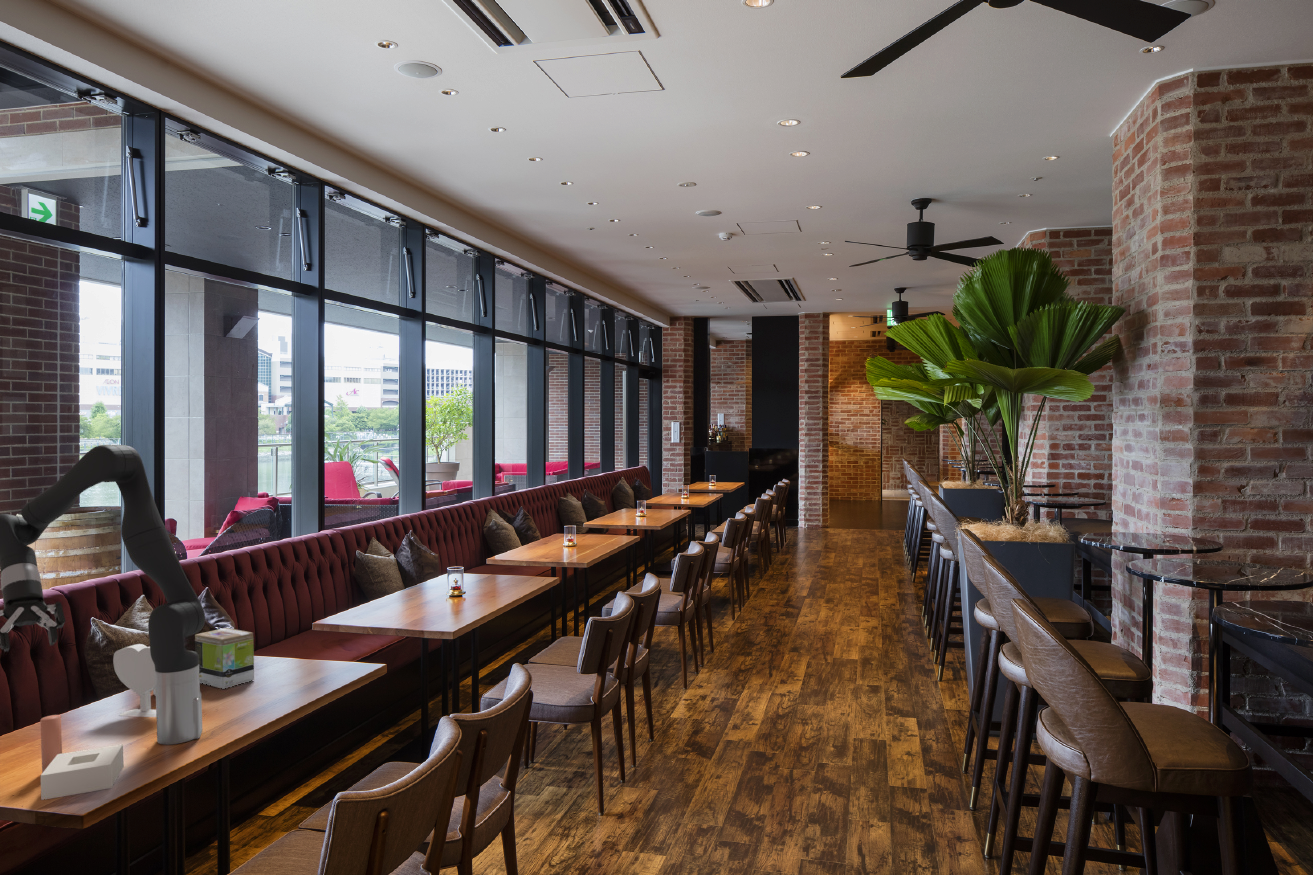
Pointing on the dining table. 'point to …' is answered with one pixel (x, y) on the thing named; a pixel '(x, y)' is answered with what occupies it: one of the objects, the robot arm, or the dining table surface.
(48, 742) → the pin
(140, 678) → the heart sculpture
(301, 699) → the dining table surface
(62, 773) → the block
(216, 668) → the tea box
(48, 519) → the robot arm
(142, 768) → the dining table surface
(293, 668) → the dining table surface
